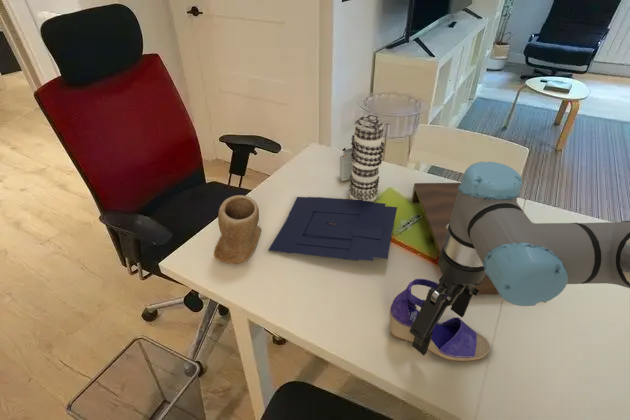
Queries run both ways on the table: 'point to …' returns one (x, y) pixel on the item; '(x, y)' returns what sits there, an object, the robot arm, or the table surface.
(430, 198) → the walnut wood board
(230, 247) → the stone cup
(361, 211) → the papers
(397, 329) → the sandal
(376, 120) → the decorative candle
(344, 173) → the ink box
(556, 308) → the table surface
